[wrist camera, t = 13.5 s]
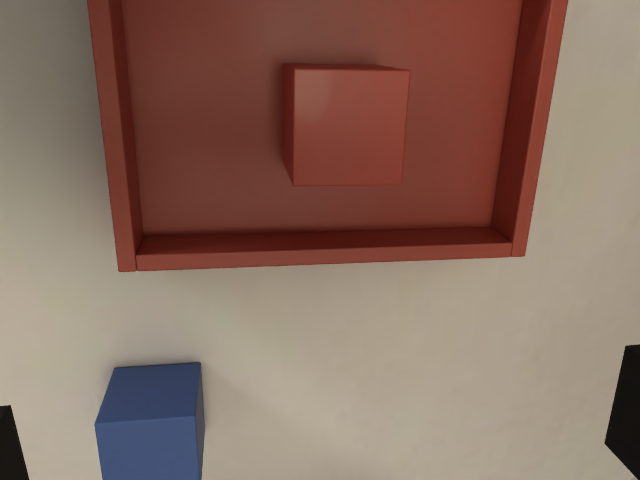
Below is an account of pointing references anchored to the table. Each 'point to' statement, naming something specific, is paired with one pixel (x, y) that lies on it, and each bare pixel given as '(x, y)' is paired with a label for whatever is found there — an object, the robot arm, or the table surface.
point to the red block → (344, 124)
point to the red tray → (267, 129)
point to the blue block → (152, 424)
